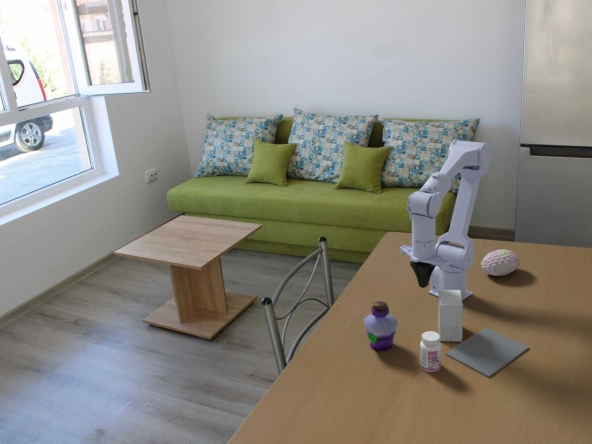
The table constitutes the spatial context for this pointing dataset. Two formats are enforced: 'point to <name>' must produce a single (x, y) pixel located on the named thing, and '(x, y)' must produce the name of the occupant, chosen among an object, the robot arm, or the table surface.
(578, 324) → the table surface
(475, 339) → the mat
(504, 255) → the decorative item
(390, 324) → the potion bottle
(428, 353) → the pill bottle
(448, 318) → the small box
